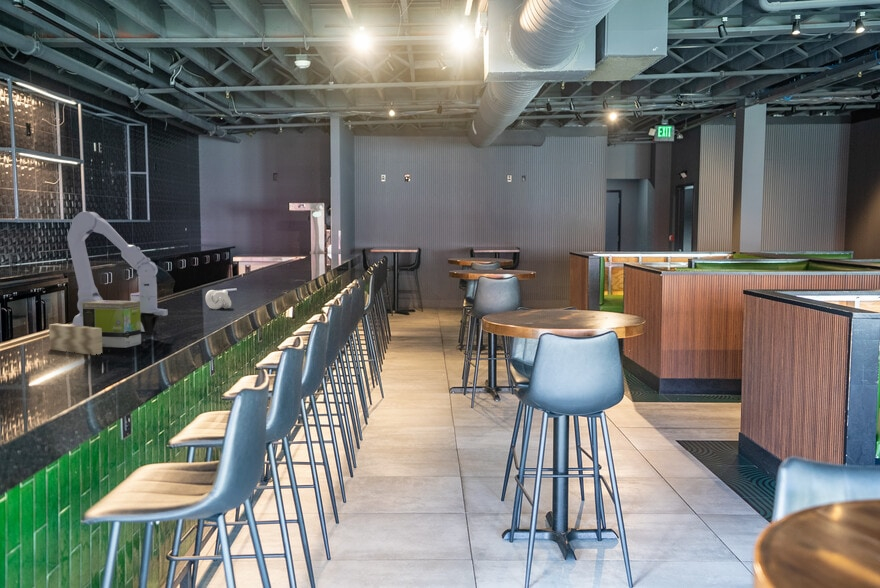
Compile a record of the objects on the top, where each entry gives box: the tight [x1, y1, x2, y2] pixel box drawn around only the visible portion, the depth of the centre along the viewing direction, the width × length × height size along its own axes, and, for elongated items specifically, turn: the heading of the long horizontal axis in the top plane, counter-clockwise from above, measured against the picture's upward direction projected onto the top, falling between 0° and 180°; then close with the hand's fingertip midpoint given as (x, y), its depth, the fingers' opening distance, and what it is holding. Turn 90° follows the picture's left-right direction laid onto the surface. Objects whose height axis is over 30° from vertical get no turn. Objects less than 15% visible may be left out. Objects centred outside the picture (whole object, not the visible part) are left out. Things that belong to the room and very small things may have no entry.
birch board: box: [48, 323, 103, 356], centre depth 227 cm, size 20×3×8 cm, turn 65°
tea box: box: [83, 299, 142, 349], centre depth 240 cm, size 15×10×15 cm, turn 80°
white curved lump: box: [204, 289, 232, 310], centre depth 347 cm, size 11×12×9 cm
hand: (149, 334), depth 254 cm, fingers closed
